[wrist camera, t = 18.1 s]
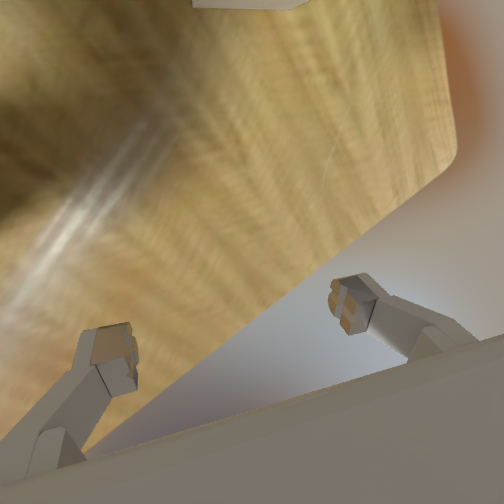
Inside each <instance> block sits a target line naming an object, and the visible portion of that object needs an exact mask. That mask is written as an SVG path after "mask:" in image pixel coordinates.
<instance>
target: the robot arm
mask: <svg viewBox="0 0 504 504" xmlns="http://www.w3.org/2000/svg"><path fill="white" fill-rule="evenodd" d="M330 287H331V289H332V290H333V291H332V292H331V293H330V294H329V297H328V304H329V308H330V310H331V312H332V313H333V315H334V316H335V317H337V318H339V319H340V325H341V326H342V328H343V329H344V330H345V332H346V333H347V334H348V335H353V334H357V333H361V332H366V331H367V333H368V334H370V335H371V336H373V337H375V338H376V339H378V340H379V341H381V342H383V343H384V344H386V345H387V346H389V347H391V348H392V349H394V350H395V351H397V352H399V353H400V354H402V355H404V356H405V357H407V358H408V361H407V363H406V364H403V365H399V366H396V367H393V368H390V369H386V370H383V371H380V372H376V373H373V374H370V375H366V376H363V377H360V378H357V379H353V380H350V381H347V382H343V383H340V384H337V385H333V386H330V387H327V388H324V389H321V390H317V391H314V392H311V393H307V394H304V395H301V396H297V397H294V398H291V399H287V400H284V401H281V402H277V403H274V404H271V405H268V406H264V407H261V408H258V409H255V410H251V411H248V412H244V413H241V414H238V415H234V416H231V417H228V418H225V419H221V420H218V421H215V422H212V423H208V424H205V425H201V426H198V427H195V428H192V429H189V430H185V431H182V432H179V433H175V434H172V435H169V436H165V437H162V438H159V439H155V440H152V441H149V442H145V443H142V444H139V445H135V446H132V447H129V448H126V449H122V450H119V451H116V452H112V453H109V454H106V455H103V456H99V457H96V458H92V459H89V460H87V459H86V457H85V456H84V454H83V453H82V452H81V449H82V447H83V445H84V444H85V442H86V441H87V439H88V437H89V436H90V434H91V432H92V431H93V429H94V427H95V426H96V424H97V423H98V421H99V419H100V418H101V416H102V414H103V413H104V411H105V410H106V408H107V406H108V405H109V403H110V401H111V400H112V399H111V398H113V397H117V396H120V395H124V394H127V393H130V392H134V391H137V389H138V372H137V369H136V366H137V364H138V363H139V354H138V346H137V341H136V338H135V337H134V336H132V327H131V324H130V322H125V323H119V324H114V325H108V326H103V327H99V328H94V329H88V330H83V331H82V333H81V334H80V338H79V342H78V346H77V349H76V353H75V357H74V361H73V365H72V369H71V371H67V372H65V374H64V375H63V376H62V377H61V378H60V379H59V380H58V381H57V382H56V383H55V384H54V385H53V386H52V387H51V388H50V389H49V390H48V392H47V393H46V394H45V395H44V396H43V397H42V398H41V399H40V400H39V401H38V402H37V403H36V404H35V405H34V406H33V407H32V408H31V410H30V411H29V412H28V413H27V414H26V415H25V416H24V417H23V418H22V419H21V420H20V421H19V422H18V423H17V424H16V425H15V427H14V428H13V429H12V430H11V431H10V432H9V433H8V434H7V435H6V436H5V437H4V438H3V439H2V440H1V441H0V504H504V334H502V335H498V336H495V337H492V338H489V339H485V340H482V341H479V340H478V339H476V338H475V337H474V336H472V334H470V333H469V332H468V331H467V330H466V329H465V328H463V327H462V326H461V325H460V324H459V323H457V322H456V321H455V320H454V319H452V318H450V317H447V316H445V315H442V314H440V313H437V312H435V311H432V310H429V309H427V308H424V307H422V306H419V305H417V304H414V303H412V302H409V301H407V300H404V299H402V298H399V297H397V296H394V295H393V296H390V295H389V294H388V293H387V292H386V291H385V290H384V289H383V288H382V287H381V286H380V285H379V284H378V283H376V281H375V280H374V279H372V277H370V276H369V275H368V274H367V273H361V274H356V275H352V276H348V277H343V278H338V279H334V280H333V281H332V282H331V286H330Z"/></svg>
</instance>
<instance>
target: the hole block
mask: <svg viewBox="0 0 504 504" xmlns="http://www.w3.org/2000/svg"><path fill="white" fill-rule="evenodd" d="M307 1H309V0H192V8H220V9H260V10H291V9H293V8H295V7H297V6H299V5H301V4H303V3H305V2H307Z"/></svg>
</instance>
